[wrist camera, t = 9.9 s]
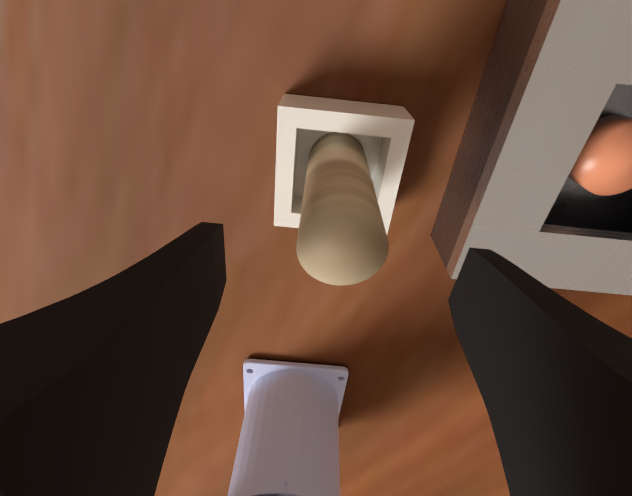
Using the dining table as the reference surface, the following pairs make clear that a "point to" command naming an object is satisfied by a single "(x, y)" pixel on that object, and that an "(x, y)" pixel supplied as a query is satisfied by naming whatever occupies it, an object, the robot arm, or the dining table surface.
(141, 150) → the dining table surface
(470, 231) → the grey square frame block
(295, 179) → the holder
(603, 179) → the button
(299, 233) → the tan cylinder
